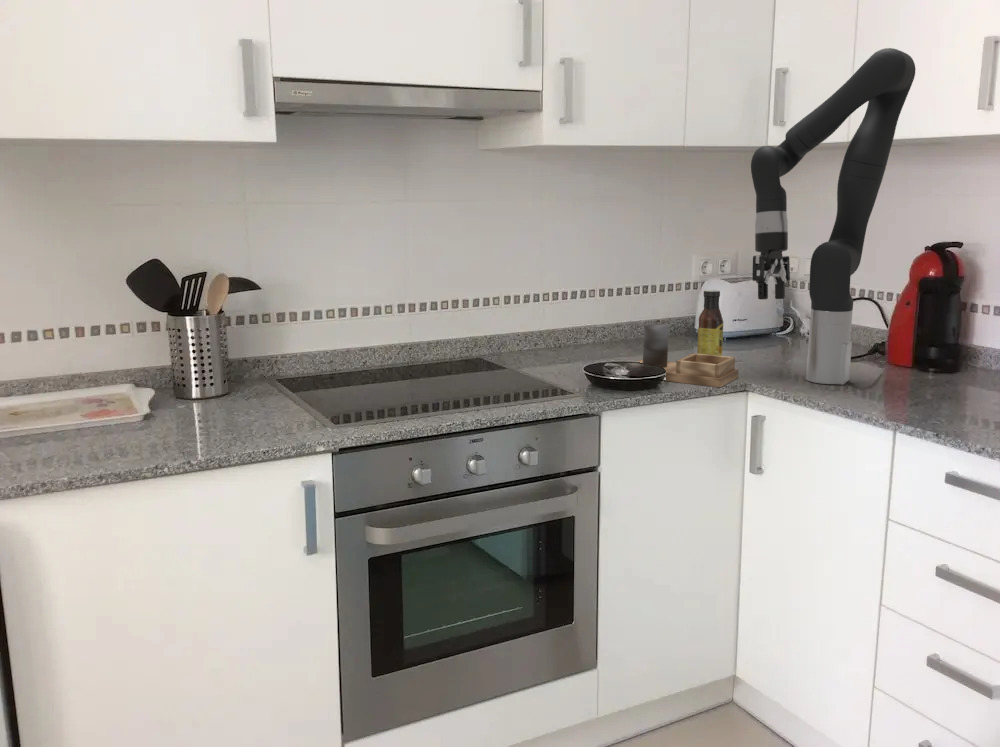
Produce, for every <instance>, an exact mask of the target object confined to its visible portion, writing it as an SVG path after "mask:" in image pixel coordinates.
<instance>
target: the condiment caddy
mask: <svg viewBox="0 0 1000 747" xmlns="http://www.w3.org/2000/svg"><path fill="white" fill-rule="evenodd" d="M669 327H670V326H669V325H667V324H663V323H648V324H643V342H642V343H643V347H642V359H639V360H637V361H636V362H640V363H643V364H648V365H654V366H658V367H662V368H664V369H665V370H666V380H667V381H666V382H672V383H679V384H681V383H682V384H687V385H688V384H689V385H698V386H704V387H705V386H706V387H715V388H722V387H723V386H726V385H727V384H729V383H732V382H733V381H735V380H736V379H738V378H739V369H738V368H737V369H736V357H734V356H727V355H725V356H724V355H722V356H716V355H706V354H697V352H696V353H695V352H694V353H692V354H689V355H686V356H685V357H682V358H680V359H677V360H676V362H674V361H668V357H669V356H668V355H669V353H668V352H669Z"/></svg>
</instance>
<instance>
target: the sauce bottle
mask: <svg viewBox="0 0 1000 747" xmlns="http://www.w3.org/2000/svg"><path fill="white" fill-rule="evenodd" d="M720 296H721V290H717V289H708V290H707V289H706V290H705V289H704V290H703V309H702V312H701V313H700V315H699V316H698V328H697V347H696V348H697V351H696V354H706V355H716V356H723V346H724V345H723V344H724V343H723V342H724V320H723V317H722V316H723V315H722V313H721V312H722V311H721V308H720Z"/></svg>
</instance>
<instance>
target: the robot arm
mask: <svg viewBox="0 0 1000 747" xmlns="http://www.w3.org/2000/svg"><path fill="white" fill-rule="evenodd" d="M915 76H916V63H915V61H914V59H913V57H912V56H911V55H909V54H908V53H906V52H904V51H902V50H899V49H897V48H892V47H891V48H890V47H887V48H882V49H879V50H876V51H875V52H874V53H873V54H871V55H870V56H869V58H868V59H867V60H866V61H865V62H864V63H863V64H862V65H861V66H860V67H859V68H858V69H857V70H856V71H855V72H854V73H853V74H852V76H851V77H849V79H848V80H846V81H845V83H843V84H842V86H840V87H839V88H838V89H837V90H836V91H835V92H834V93H832V95H831V96H829V97H828V98H827V99H826V100H825V101H823V102H822V103H821V104H820V105H818V106H817V107H815V109H813V110H812V111H811V112H810V113H808V114H807V115H806V116H804V117H803V118H801V119H800V120H799V121H798V122H797V123H795V124H793V126H791V128H790V129H789V130H787V131H786V133H785V137H784V138H785V139H784V140H783V141H782V142H781V143H779V145H777V146H776V147H775V146H771V145H763V146H761V147H759V148H757V149H756V150H755V151H754V152H753V155H752V157H751V161H750V173H751V178H752V184H753V189H754V192H755V196H756V198H755V202H756V203H755V213H756V214H755V219H754V220H755V222H754V223H755V224H754V237H755V238H754V239H755V240H754V241H755V242H754V250H755V252H757V253H760V255H759V254H758V255H753V256H752V281H753V282H756V284H757V299H758V300H767V299H768V298H769V283H768V282H769V279H770V277H772V278H773V279H774V283H775V284H774V297H775V299H776V300H783V299H784V300H785V298H786V284H787V282H788V281H790V279H791V273H790V272H791V270H790V269H791V268H790V267H791V266H790V265H791V263H790V256H789V255H785V256H784V255H783V252H786V251H787V250H788V249H789V242H788V240H789V237H788V236H789V233H788V232H789V231H788V230H789V229H788V228H789V226H788V225H789V221H788V212H787V204H788V203H787V200H788V199H787V191H786V190H785V188H784V187H783V186H782V183H781V177H783V176H785V175H786V174H788V173H789V172H791V171H792V170H793V169H794V168H795V167H796V166H797V165H798V164H799V163H800V162H801V161H802V159H803V158H804V157H805V156H806V155H807V154H808V153H809V152H810V151H812V150H813V149H815V148H816V147H818V146H819V145H820V144H821V143H823V142H824V141H826V139H828V138H829V137H830V136H831V135H833V134H834V133H835V132H836V131H837V130H838V129H839V127H840V126H842V124H843V123H844V122H845V121H846V120H847V119H848V118H849V117H850V116H851V115H852V114H853V113H855V112H856V110H858V109H859V108H861V107H862V106H863V105H864V104H867V107H866V110H865V114H864V117H863V118H862V121H861V122H860V125H859V126H858V128H857V130H856V131H855V133H854V134H853V136H852V138H851V140H850V142H849V144H848V147H847V149H846V150H845V151H846V152H845V154H844V156H843V160H842V163H841V167H840V170H839V174H838V181H837V186H836V187H837V191H836V196H837V197H836V205H837V207H836V208H837V209H836V216H835V221H834V224H833V226H832V227H833V228H832V231H831V233H830V236H829V239H828V241H825V242H822V243H821V244H819V245H818V246H817V247H816V248H815V249H814V251H813V253H812V256H811V259H810V268H809V285H808V286H809V287H808V288H809V292H808V293H809V297H810V298H809V299H810V301H811V302H810V316H809V317H810V318H809V319H810V320H809V330H808V333H809V334H808V344H807V345H808V346H807V359H806V371H805V374H806V375H805V380H806V381H808V382H811V383H814V384H815V383H816V384H822V385H845V384H846V383H848V382H849V380H850V371H851V370H850V368H851V359H852V346H853V342H852V340H851V333H852V323H853V322H852V321H853V310H854V309H853V308H854V298H853V297H852V295H851V277H852V275H853V274H854V273H855V272H857V270H858V269H859V267H860V264H861V260H862V255H863V250H864V243H865V237H866V232H867V227H868V224H869V221H870V217H871V214H872V212H873V209H874V207H875V203H876V200H877V197H878V194H879V190H880V187H881V185H882V182H883V179H884V175H885V171H886V168H887V165H888V160H889V156H890V152H891V149H892V146H893V142H894V137H895V133H896V128H897V124H898V121H899V117H900V114H901V112H902V110H903V107H904V104H905V102H906V100H907V97H908V95H909V92H910V90H911V87H912V86H913V82H914V81H915V80H914V79H915Z"/></svg>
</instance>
